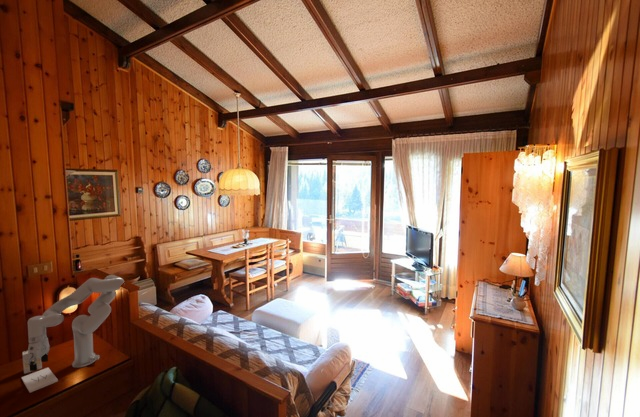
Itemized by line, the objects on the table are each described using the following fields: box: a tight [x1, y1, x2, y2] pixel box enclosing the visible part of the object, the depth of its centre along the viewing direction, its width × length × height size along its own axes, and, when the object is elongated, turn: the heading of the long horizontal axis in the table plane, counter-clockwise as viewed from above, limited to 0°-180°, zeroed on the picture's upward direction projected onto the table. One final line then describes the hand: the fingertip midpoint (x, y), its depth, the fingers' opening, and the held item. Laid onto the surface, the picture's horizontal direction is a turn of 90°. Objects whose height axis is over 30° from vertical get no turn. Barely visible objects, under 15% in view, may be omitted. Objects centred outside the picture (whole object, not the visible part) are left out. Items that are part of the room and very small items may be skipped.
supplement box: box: [22, 350, 43, 374], centre depth 182 cm, size 8×5×13 cm, turn 137°
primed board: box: [20, 367, 59, 393], centre depth 173 cm, size 20×12×1 cm, turn 55°
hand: (39, 365), depth 172 cm, fingers open, 8 cm apart
